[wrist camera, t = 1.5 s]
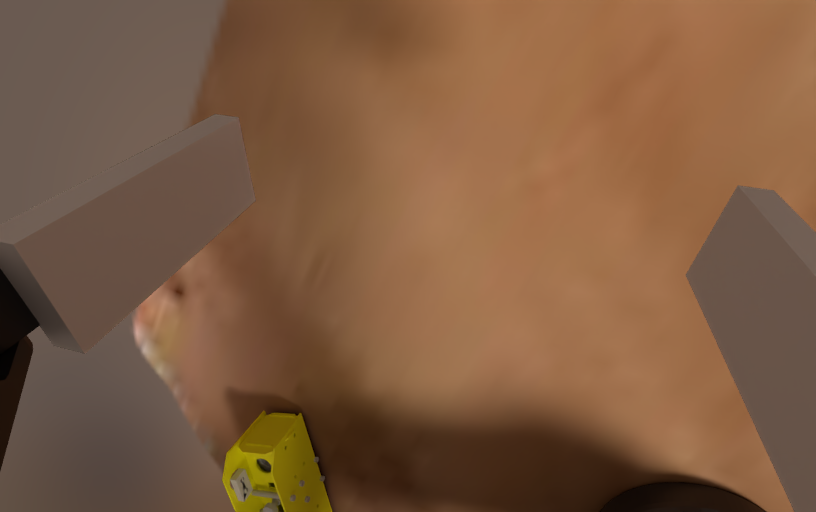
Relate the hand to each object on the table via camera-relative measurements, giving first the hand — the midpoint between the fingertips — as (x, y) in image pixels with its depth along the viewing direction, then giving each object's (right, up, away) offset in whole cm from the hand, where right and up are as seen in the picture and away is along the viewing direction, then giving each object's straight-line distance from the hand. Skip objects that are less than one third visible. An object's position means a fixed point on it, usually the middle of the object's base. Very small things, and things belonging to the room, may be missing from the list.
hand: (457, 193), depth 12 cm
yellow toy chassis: (-13, -26, +37) cm, 47 cm away
